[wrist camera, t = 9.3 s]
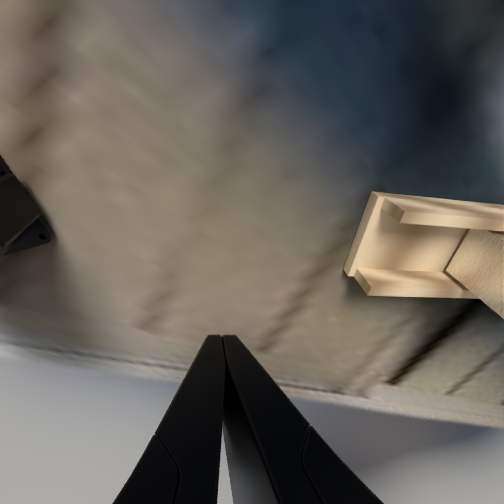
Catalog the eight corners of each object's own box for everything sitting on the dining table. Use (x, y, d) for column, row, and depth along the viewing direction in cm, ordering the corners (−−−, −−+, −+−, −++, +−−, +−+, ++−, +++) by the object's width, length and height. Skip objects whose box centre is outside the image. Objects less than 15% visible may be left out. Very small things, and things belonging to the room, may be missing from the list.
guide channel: (343, 268, 25) (361, 295, 22) (371, 191, 21) (397, 210, 18) (525, 277, 28) (561, 300, 25) (575, 212, 25) (623, 231, 22)
